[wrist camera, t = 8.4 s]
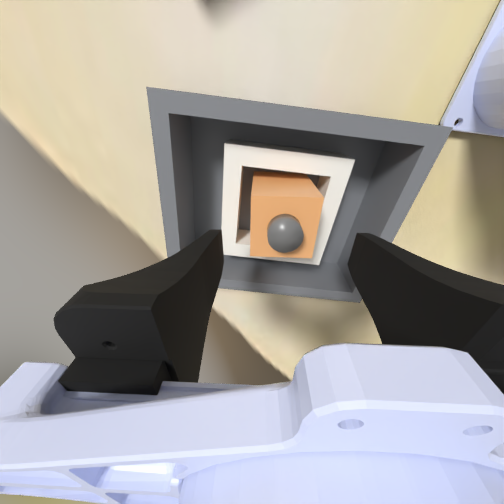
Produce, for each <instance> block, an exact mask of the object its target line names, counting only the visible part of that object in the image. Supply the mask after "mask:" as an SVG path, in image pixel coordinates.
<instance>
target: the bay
mask: <svg viewBox="0 0 504 504" xmlns="http://www.w3.org/2000/svg"><path fill="white" fill-rule="evenodd" d="M146 88H147V96H148V104H149V112H150V120H151V128H152V136H153V144H154V152H155V160H156V168H157V176H158V184H159V192H160V200H161V208H162V216H163V224H164V232H165V240H166V248H167V256H168V257H170V256H172V255H174V254H176V253H177V252H179V251H180V250H182V249H183V248H185V247H187V246H188V245H190V244H191V243H192V242H194V241H195V240H196V239H198V238H199V237H201V236H202V235H203V234H205V233H206V232H207V231H209V230H210V229H216V230H222V240H223V253H224V265H223V271H222V276H221V280H220V283H219V286H218V288H224V289H234V290H243V291H253V292H262V293H272V294H281V295H291V296H301V297H310V298H320V299H329V300H339V301H348V302H358V303H360V301H361V300H362V297H361V295H360V293H359V291H358V290H357V288H356V286H355V284H354V282H353V280H352V277H351V274H350V271H349V268H348V265H347V264H348V260H349V257H350V254H351V250H352V247H353V244H354V240H355V237H356V234H357V233H370V234H373V235H375V236H378V237H380V238H382V239H384V240H386V241H388V242H390V243H392V241H393V240H394V238H395V236H396V234H397V232H398V230H399V228H400V226H401V225H402V223H403V221H404V219H405V217H406V215H407V213H408V211H409V210H410V208H411V206H412V204H413V202H414V200H415V198H416V196H417V195H418V193H419V191H420V189H421V187H422V185H423V183H424V181H425V180H426V178H427V176H428V174H429V172H430V170H431V168H432V166H433V165H434V163H435V161H436V159H437V157H438V155H439V153H440V151H441V150H442V148H443V146H444V144H445V142H446V140H447V138H448V136H449V135H450V133H451V131H452V129H453V127H447V126H440V125H432V124H424V123H417V122H409V121H402V120H394V119H386V118H379V117H371V116H364V115H356V114H349V113H341V112H333V111H326V110H318V109H311V108H303V107H295V106H288V105H280V104H273V103H265V102H258V101H250V100H242V99H235V98H227V97H220V96H212V95H204V94H197V93H189V92H182V91H174V90H167V89H159V88H151V87H146ZM254 171H261V172H297V173H305V174H306V175H307V176H308V177H309V178H310V180H311V181H312V182H313V184H314V185H315V186H316V188H317V189H318V190H319V192H320V193H321V194H322V195H323V197H324V201H323V206H322V211H321V216H320V221H319V226H318V231H317V236H316V241H315V246H314V250H313V255H312V258H287V257H257V256H250V223H251V191H252V182H253V174H254Z"/></svg>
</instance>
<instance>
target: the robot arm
mask: <svg viewBox="0 0 504 504" xmlns="http://www.w3.org/2000/svg"><path fill="white" fill-rule="evenodd" d="M457 119H458V120H459V121H458V123H457V124H456V125H454V123H455V121H456V120H457ZM440 126H447V127H453V129H452V130H453V131H460V132H468V133H475V134H483V135H491V136H498V137H504V0H501V1H500V3H499V5H498V7H497V9H496V11H495V13H494V15H493V17H492V19H491V21H490V23H489V25H488V27H487V29H486V31H485V33H484V35H483V37H482V39H481V41H480V43H479V45H478V47H477V49H476V51H475V53H474V55H473V57H472V59H471V61H470V63H469V65H468V67H467V69H466V71H465V73H464V75H463V77H462V79H461V81H460V83H459V85H458V87H457V89H456V91H455V93H454V95H453V97H452V99H451V101H450V103H449V105H448V107H447V109H446V111H445V113H444V115H443V117H442V119H441V122H440ZM223 265H224V253H223V240H222V230H216V229H210V230H209V231H207V232H206V233H205V234H203V235H202V236H201V237H199V238H198V239H196V240H195V241H194V242H192V243H191V244H190V245H188V246H187V247H185V248H183V249H182V250H180V251H179V252H177V253H176V254H174V255H172V256H170V257H168V258H166V259H164V260H162V261H160V262H158V263H156V264H154V265H151V266H149V267H146V268H144V269H142V270H139V271H136V272H133V273H130V274H127V275H124V276H121V277H117V278H114V279H110V280H106V281H102V282H98V283H94V284H89V285H85V286H83V287H82V288H81V289H80V290H79V291H78V292H77V293H76V294H75V295H74V296H73V297H72V298H71V299H70V300H69V301H68V302H67V303H66V304H65V305H64V306H63V307H62V308H61V309H60V310H59V311H57V312H56V314H55V317H54V325H55V329H56V330H57V332H58V334H59V336H60V337H61V338H62V340H63V341H64V342H65V344H66V345H67V346H68V347H69V349H70V350H71V351H72V353H73V354H74V355H75V357H76V358H75V359H74V361H73V362H72V363H71V365H70V366H69V367H68V366H66V365H64V364H60V363H50V362H25V363H23V364H22V365H21V366H20V367H19V368H18V369H17V370H16V371H15V372H14V374H13V375H11V377H10V378H9V379H8V380H7V381H6V382H5V383H4V384H3V385H2V386H1V387H0V494H13V495H26V496H38V497H48V498H59V499H67V500H77V501H85V502H93V503H102V504H504V285H501V284H497V283H493V282H490V281H486V280H483V279H480V278H476V277H473V276H470V275H467V274H463V273H460V272H457V271H455V270H452V269H449V268H446V267H444V266H441V265H438V264H436V263H433V262H431V261H428V260H426V259H424V258H422V257H419V256H417V255H415V254H413V253H411V252H409V251H406V250H404V249H402V248H400V247H398V246H396V245H394V244H392V243H390V242H388V241H386V240H384V239H382V238H380V237H378V236H375V235H373V234H370V233H357V234H356V237H355V240H354V244H353V247H352V250H351V254H350V257H349V260H348V264H347V265H348V268H349V271H350V274H351V277H352V280H353V282H354V284H355V286H356V288H357V290H358V291H359V293H360V295H361V297H362V299H363V301H364V303H365V305H366V307H367V308H368V310H369V312H370V314H371V316H372V318H373V321H374V323H375V325H376V328H377V331H378V333H379V336H380V338H381V341H382V344H359V343H338V344H330V345H322V346H320V347H318V348H316V349H314V350H312V351H310V352H307V353H306V354H305V355H304V356H303V357H302V358H301V360H300V361H299V363H298V364H297V366H296V367H295V371H294V376H293V380H292V381H290V382H283V383H276V384H269V385H238V384H216V383H198V379H199V371H200V365H201V360H202V353H203V348H204V342H205V337H206V331H207V325H208V320H209V316H210V312H211V308H212V305H213V302H214V299H215V296H216V292H217V289H218V286H219V283H220V280H221V276H222V271H223Z"/></svg>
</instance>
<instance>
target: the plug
mask: <svg viewBox="0 0 504 504" xmlns="http://www.w3.org/2000/svg"><path fill="white" fill-rule="evenodd" d="M323 201H324V197H323V195H322V194H321V193H320V192H319V190H318V189H317V188H316V186H315V185H314V184H313V182H312V181H311V180H310V178H309V177H308V176H307V175H306V174H305V173H297V172H261V171H254V174H253V182H252V191H251V223H250V256H257V257H287V258H312V255H313V250H314V246H315V241H316V236H317V231H318V226H319V221H320V216H321V211H322V206H323Z"/></svg>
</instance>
